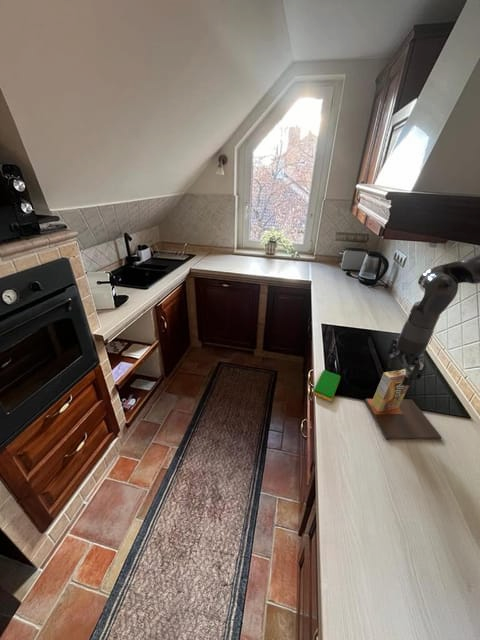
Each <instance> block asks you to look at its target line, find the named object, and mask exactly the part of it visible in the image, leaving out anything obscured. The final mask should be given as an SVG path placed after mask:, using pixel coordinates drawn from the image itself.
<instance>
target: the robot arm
mask: <svg viewBox="0 0 480 640" xmlns="http://www.w3.org/2000/svg"><path fill="white" fill-rule="evenodd" d="M464 283H465V284H470V285H480V253H479V254H475V255H473V256H470V257H468V258H466V259H462V260H456V261H452V262H448V263H443V264H440V265H436V266H434V267H431V268H429V269H427V270H426V271H424V272H423V273H422V274H421V275H420V276H419V277H418V280H417V284H418V287H419V289H420V290H421V291H422V292H423V293H424V294H423V297H422V298H421V300H420V301H416V302H414V303H413V304H412V306H411V308H410V311H409V313H408V316H407V318H406V320H405V322H404V324H403V326H402V328H401V332H400V334H399V336H398V338H393V339H392V340H391V342H390V344H389V347H388V348H387V354H388V355H389V360H388V362H387V363H388V364H387V367H388V368H389V369H394V368H395V369H396V367H397V363H398V361H400V362H401V364H402V365H403V369H405V371H406V376H405V377H404V379H403V382H402V385H403V386H409V387H410V386H411V385H412V383H413V381H421V379H422V377H423V375H424V372H425V369H426V367H427V364H426V363H425V362H421V361H420V356H421V355H423V354H424V353H425V352H426V349H427V347H428V345H429V343H430V341H431V339H432V336H433V334H434V332H435V328H436V326H437V323H438V321H439V319H440V317H441V315H442V314H443V312H444V311H446V310H447V308H448V307H449V306H450V304H451V303H452V302H453V301H454V299H455V298H456V296H457V295H458V292H459V285H460V284H464ZM410 372H411V373H410Z"/></svg>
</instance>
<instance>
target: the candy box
mask: <svg viewBox="0 0 480 640" xmlns="http://www.w3.org/2000/svg"><path fill="white" fill-rule="evenodd" d="M405 376H406V371H405V369H404V368H403V369H398V370H392V371H385V372H383V374H382V375H381V378H380V381H379V383H378V385H377V388H376V391H375V393H374V395H373V398H372V399H373V400H372V402H371V405H372V406H373V407H374V408H375V409H376V410H377V412H380V411H385V410H390V409H395V408H398V407H399V405H400V403H401V401H402V399H404V398H405V396H406V394H407V391H408V389H409V388H410V386H403V385H402V382H403V379H404V377H405Z"/></svg>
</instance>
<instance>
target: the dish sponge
mask: <svg viewBox="0 0 480 640" xmlns="http://www.w3.org/2000/svg"><path fill="white" fill-rule="evenodd" d="M341 377H342V376H341V375H340V374H336V373H333V372H331V371H329V370H326V369H324V370H322V372H321V374H320V377H319V379H318V380H317V382H316V385H315V386H314V389H313V391H312V394H313V396H316V397H318V398H321V399H323V400H325V401H328V402H333V399H334V397H335V394H336V392H337V388H338V387H339V384H340V382H341Z"/></svg>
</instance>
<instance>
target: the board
mask: <svg viewBox="0 0 480 640" xmlns="http://www.w3.org/2000/svg"><path fill="white" fill-rule="evenodd" d="M372 400H373V398H365V399H364V403H365V405H366V407H367V408H368V410H369V412H370V414H371V415H372V418H373V419H374V421H375V423H376V425H377V426H378V428H379V430H380V431H381V433H382V436H383V437H384V439H385V440H442V438H443V437H442V436H441V435H440V433H439V432H438V430H436V428H435V427H434V425H433V424H432V423H431V422H430V420H429V419H428V418H427V416H426V415H425V414H424V413H423V412H422V410H421V409H420V408H419V407H418V405H417V404H416V403H415V402H414V400H413V399H411V398H409V399H408V398H406V399H405V398H403V399H402V401H401V403H400V405H399V407H398V408H395V409H390V410H385V411H380V412H377V410H376V409H375V408H374V407H373V406H372V405H371V402H372Z"/></svg>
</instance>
